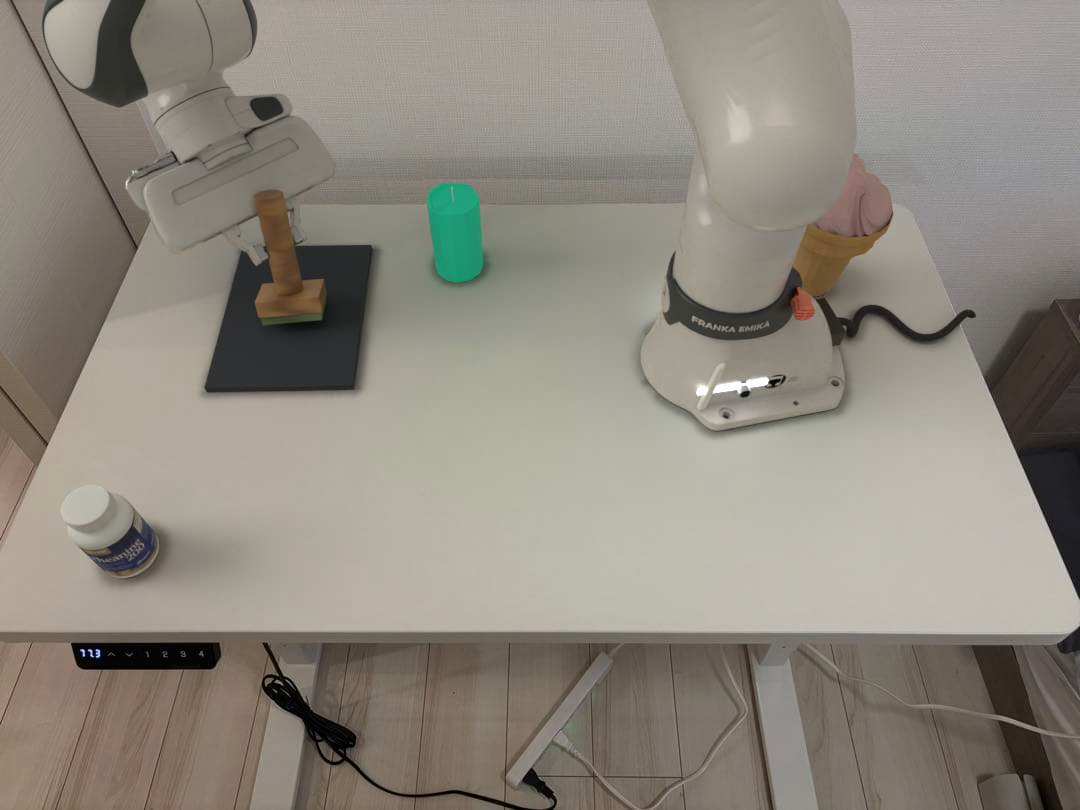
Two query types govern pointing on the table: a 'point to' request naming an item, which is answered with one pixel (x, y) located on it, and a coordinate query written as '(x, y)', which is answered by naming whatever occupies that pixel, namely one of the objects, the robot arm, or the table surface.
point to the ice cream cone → (844, 230)
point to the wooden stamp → (284, 269)
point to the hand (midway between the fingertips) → (282, 252)
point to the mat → (294, 327)
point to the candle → (456, 231)
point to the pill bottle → (109, 531)
